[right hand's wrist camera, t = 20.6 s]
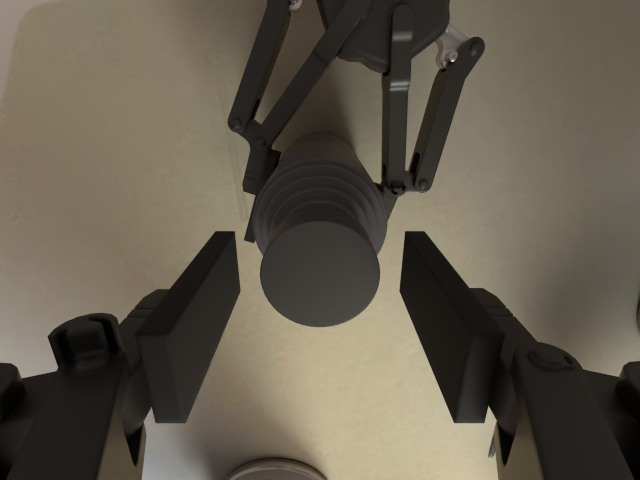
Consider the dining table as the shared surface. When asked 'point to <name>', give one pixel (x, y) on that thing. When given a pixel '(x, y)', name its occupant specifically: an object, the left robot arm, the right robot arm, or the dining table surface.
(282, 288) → the cap
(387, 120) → the left robot arm
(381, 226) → the bottle
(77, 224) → the dining table surface
